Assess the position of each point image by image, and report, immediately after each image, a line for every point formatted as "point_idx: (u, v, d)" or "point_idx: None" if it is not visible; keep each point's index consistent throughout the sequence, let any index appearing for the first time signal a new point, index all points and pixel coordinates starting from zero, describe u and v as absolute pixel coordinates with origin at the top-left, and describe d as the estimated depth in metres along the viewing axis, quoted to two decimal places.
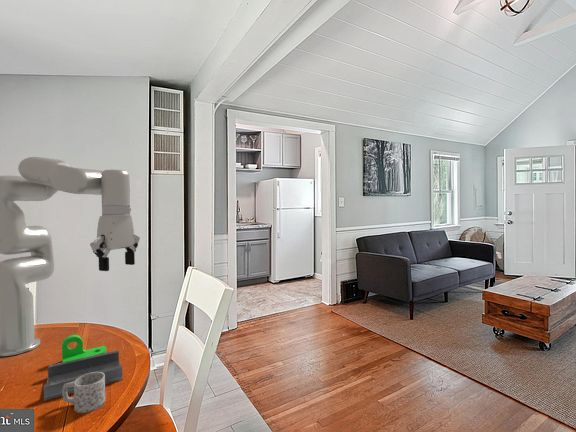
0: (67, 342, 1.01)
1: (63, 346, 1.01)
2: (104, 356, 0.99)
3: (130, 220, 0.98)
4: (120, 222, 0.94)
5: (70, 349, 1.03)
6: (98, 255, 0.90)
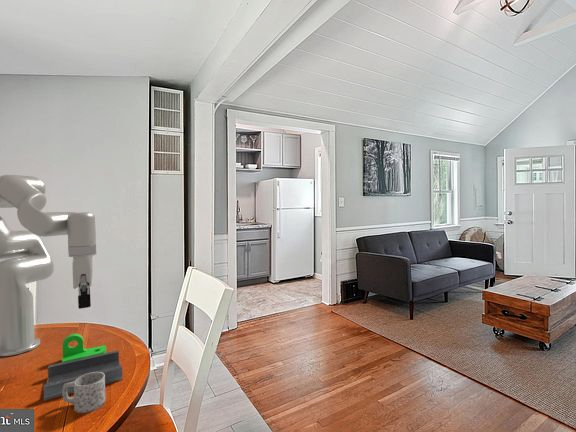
0: (67, 341, 1.02)
1: (63, 345, 1.02)
2: (104, 356, 0.99)
3: None
4: None
5: (71, 347, 1.04)
6: (83, 293, 0.97)
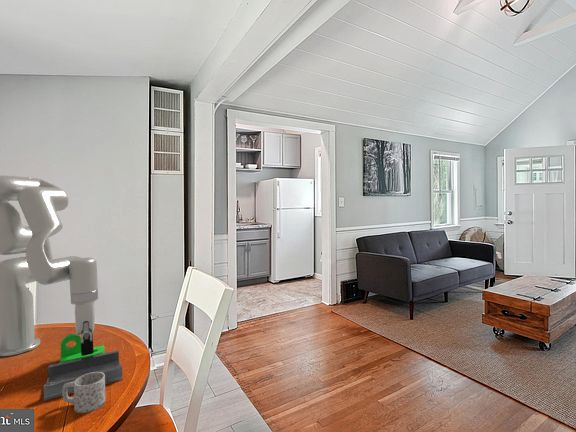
0: (65, 341, 1.02)
1: (61, 345, 1.02)
2: (104, 356, 0.99)
3: None
4: None
5: (69, 347, 1.04)
6: (86, 341, 0.97)
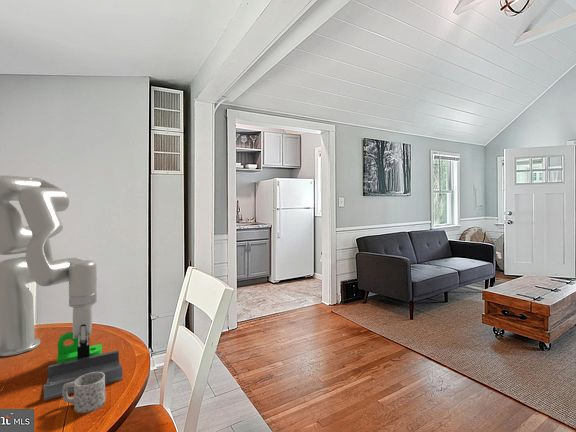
0: (62, 339, 1.01)
1: (58, 343, 1.01)
2: (104, 356, 0.99)
3: None
4: None
5: (66, 346, 1.03)
6: (83, 345, 0.99)
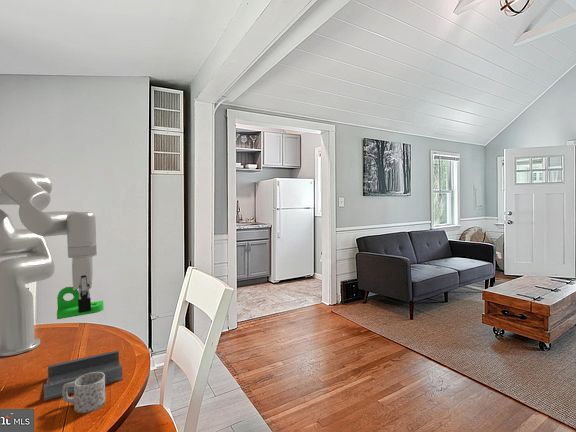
0: (62, 293, 0.97)
1: (58, 297, 0.97)
2: (104, 356, 0.99)
3: None
4: None
5: (66, 301, 0.99)
6: (84, 297, 0.95)
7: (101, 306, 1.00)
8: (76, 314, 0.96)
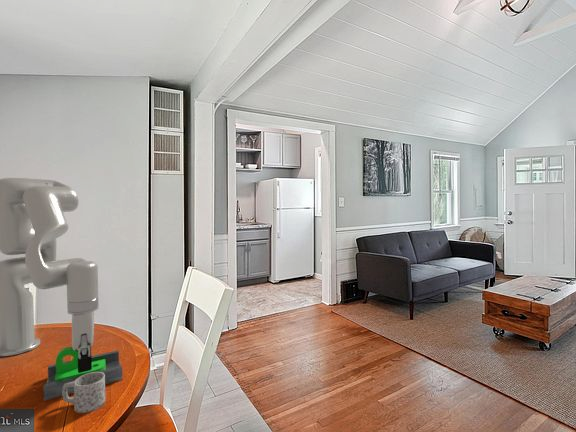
0: (61, 356, 0.90)
1: (56, 360, 0.89)
2: (104, 356, 0.99)
3: None
4: (93, 315, 0.92)
5: (66, 362, 0.92)
6: (84, 356, 0.86)
7: (103, 368, 0.93)
8: None
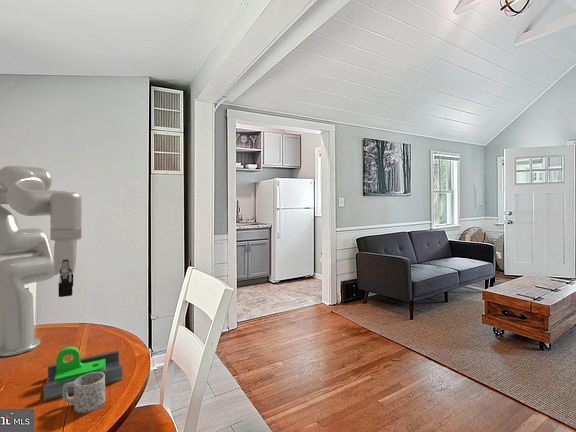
0: (61, 355, 0.90)
1: (57, 360, 0.90)
2: (104, 356, 0.99)
3: None
4: (76, 245, 0.94)
5: (66, 362, 0.92)
6: (64, 281, 0.89)
7: (103, 368, 0.93)
8: None
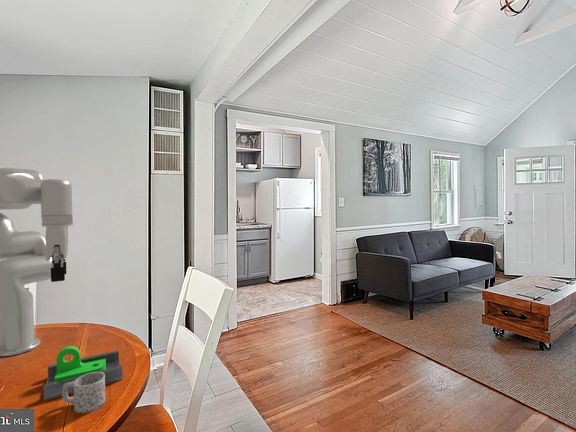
0: (61, 355, 0.90)
1: (57, 359, 0.90)
2: (104, 356, 0.99)
3: None
4: (67, 231, 0.95)
5: (66, 361, 0.92)
6: (56, 265, 0.90)
7: (103, 368, 0.93)
8: None
